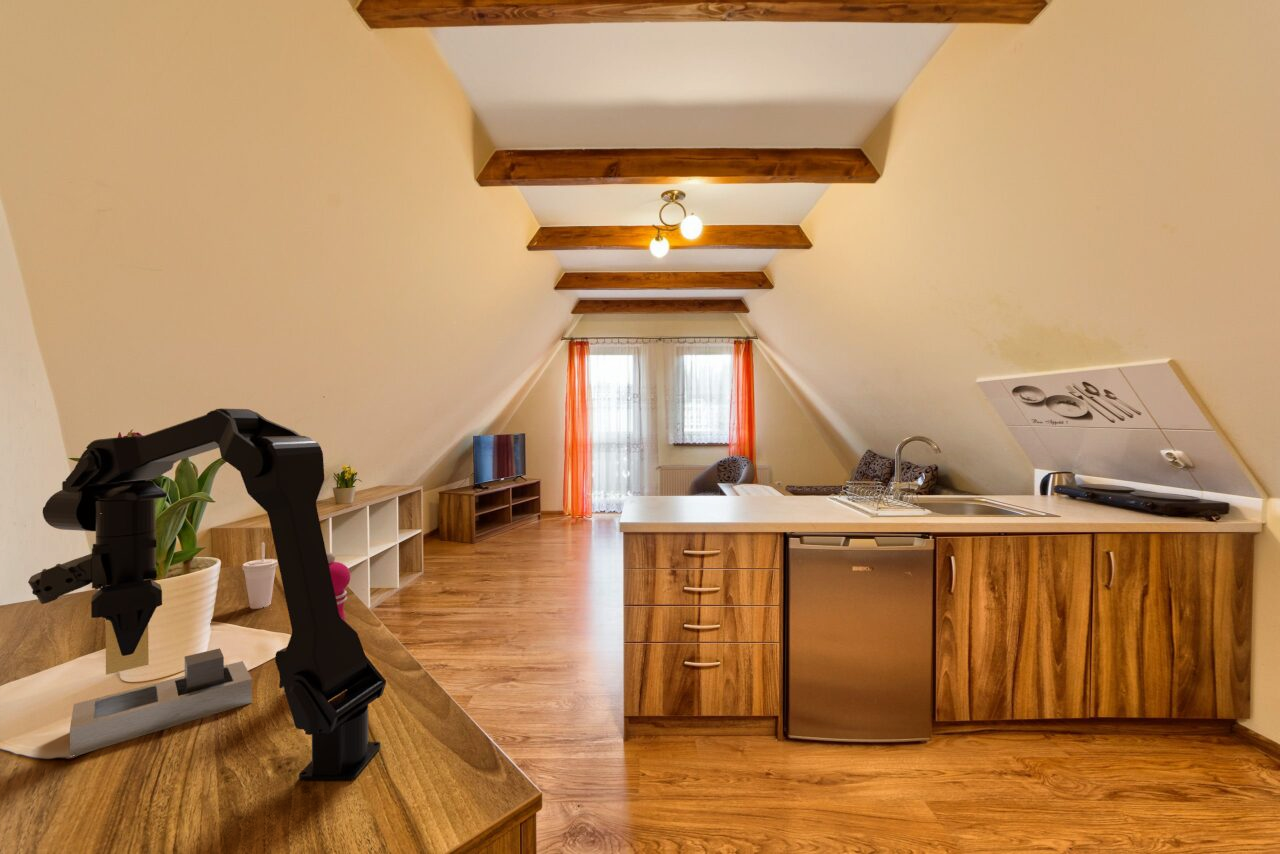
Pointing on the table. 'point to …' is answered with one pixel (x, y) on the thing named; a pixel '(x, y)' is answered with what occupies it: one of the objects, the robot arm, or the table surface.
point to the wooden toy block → (121, 663)
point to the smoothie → (260, 580)
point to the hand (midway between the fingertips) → (127, 649)
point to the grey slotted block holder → (161, 703)
